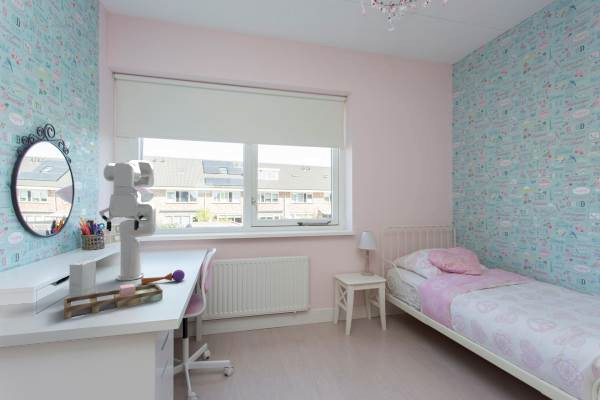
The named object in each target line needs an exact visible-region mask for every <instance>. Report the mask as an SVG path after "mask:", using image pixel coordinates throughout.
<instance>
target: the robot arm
mask: <svg viewBox="0 0 600 400" xmlns="http://www.w3.org/2000/svg"><path fill="white" fill-rule="evenodd" d="M154 172H155V171H154V165H153V163H151V162H150V161H149V160H148V161H147V160H136V159H135V160H133V159H131V160H126V161H125V162H115V163H113V162H112V163H108V164H106V165H105V167H104V168H103V177H104V179H105V180H106V181H107V182H112V183H113V193H112V194H110V197H109V206H108V207H107V208H105V209H102V210H99V212H98V214H99V215H100V217H101V219H102V220H103V221H105V222H106V230H107V231H108V232H112V222H111V221H112V220H113V219H114V218H124V219H126V220H122V221H121V222H120V223H119V224H118V233H119V239H120V240H119V241H120V256H119V257H120V261H119V263H120V265H119V267H120V268H119V269H120V270H119V275H117V276H116V280H117V281H123V282H124V281H134V280H138V279H141V278H144V275H145V274H144V273H143V272H141V271H142V269H141V265H142V264H141V262H142V260H141V259H142V244H141V242H140V241H139V240H138V239H137V238H144V237H146V238H147V237H153V236H154V235H155V233H156V228H157V224H156V223H157V222H156V221H157V219H156V218H157V214H156V213H157V212H156V210H157V209H156V206H155V204H154V203H152V202H143V201H142V198H143V197H142V195H141V193H140V192H139V191H138V189H136V188H152V187H153V186H154V184H155V173H154ZM105 213H108V217H107V216H106V215H105Z"/></svg>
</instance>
